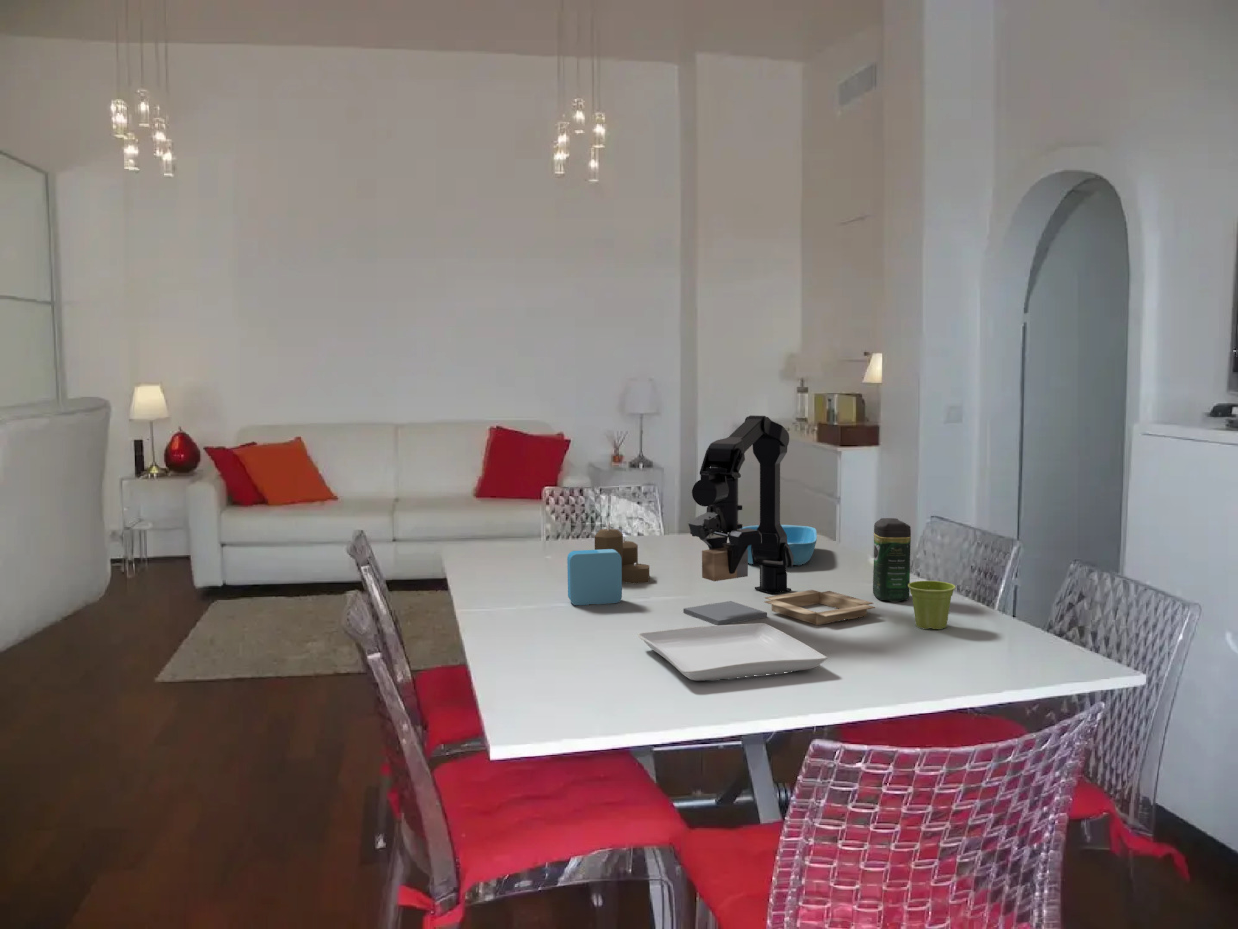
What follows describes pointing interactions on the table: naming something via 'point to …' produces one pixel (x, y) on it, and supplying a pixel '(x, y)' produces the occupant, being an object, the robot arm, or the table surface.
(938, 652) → the table surface
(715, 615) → the mat
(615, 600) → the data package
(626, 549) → the candle
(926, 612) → the plant pot
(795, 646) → the square plate
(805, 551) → the casserole dish
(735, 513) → the robot arm
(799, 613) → the wooden square frame
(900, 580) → the coffee jar
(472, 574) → the table surface
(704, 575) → the block
